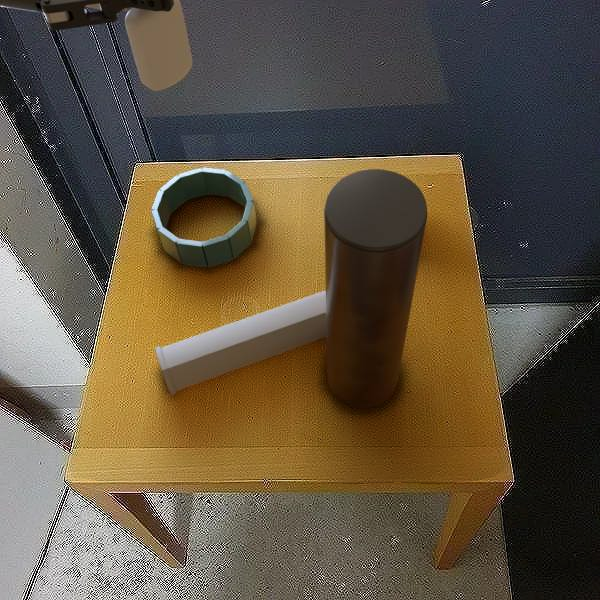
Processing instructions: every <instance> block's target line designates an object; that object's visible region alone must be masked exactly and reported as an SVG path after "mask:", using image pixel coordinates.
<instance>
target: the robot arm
mask: <svg viewBox="0 0 600 600" xmlns="http://www.w3.org/2000/svg"><path fill="white" fill-rule="evenodd" d="M173 6H174V1H173V0H0V7H2V8H8V9H14V10H22V11H28V12H35V13H41V14H43V15H44V16H45V19H46V23H47V24H48V28H49V29H50V30H51V31H62V30H70V29H76V28H77V29H78V28H83V27H90V26H97V25H105V24H111V23H115V22H117V21H118V19H119V16H118V14H119V13H120V12H128V11H129V10H131V9H132V8H137V9H144V10H151V11H166V12H169V11H170V10H171V9H172V7H173ZM88 8H90V9H94V10H98V11H89V10H88Z"/></svg>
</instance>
